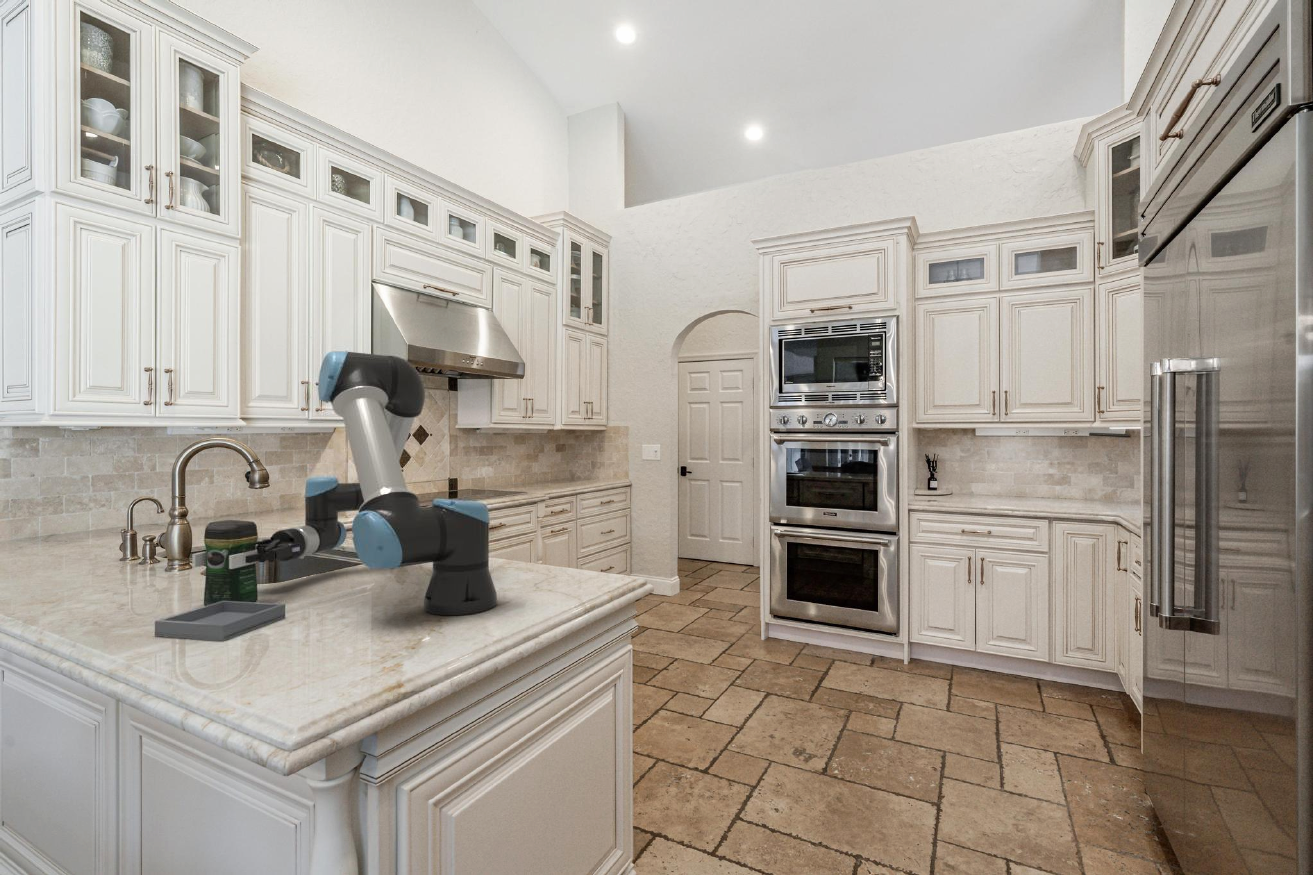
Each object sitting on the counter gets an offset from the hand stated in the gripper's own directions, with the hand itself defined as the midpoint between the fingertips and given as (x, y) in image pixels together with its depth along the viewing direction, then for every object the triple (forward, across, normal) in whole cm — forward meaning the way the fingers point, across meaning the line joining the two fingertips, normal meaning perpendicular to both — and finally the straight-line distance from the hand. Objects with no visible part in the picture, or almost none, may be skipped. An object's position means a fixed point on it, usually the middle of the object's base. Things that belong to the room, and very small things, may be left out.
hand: (212, 561), depth 130 cm
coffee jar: (-5, 0, -11) cm, 12 cm away
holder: (+8, -11, -11) cm, 17 cm away
